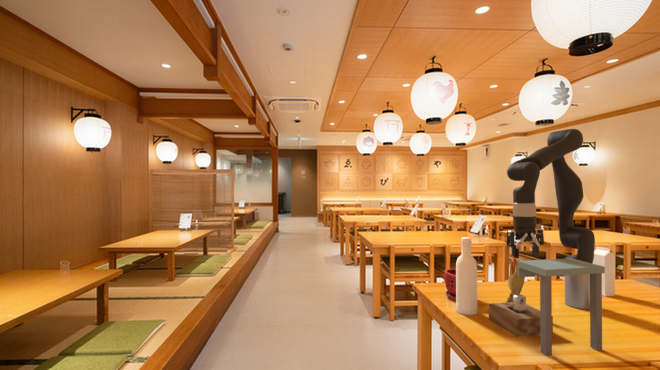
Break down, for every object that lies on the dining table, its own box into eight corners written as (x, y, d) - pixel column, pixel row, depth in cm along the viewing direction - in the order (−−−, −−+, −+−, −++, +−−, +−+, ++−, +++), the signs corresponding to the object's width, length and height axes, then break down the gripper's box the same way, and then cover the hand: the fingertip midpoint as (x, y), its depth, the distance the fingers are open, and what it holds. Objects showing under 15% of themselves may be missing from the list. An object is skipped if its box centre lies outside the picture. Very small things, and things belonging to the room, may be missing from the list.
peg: (520, 320, 113) (520, 293, 113) (528, 325, 109) (528, 297, 109) (510, 321, 112) (510, 294, 112) (518, 326, 108) (518, 298, 108)
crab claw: (526, 312, 122) (526, 263, 123) (516, 314, 121) (516, 264, 121) (511, 306, 129) (511, 259, 129) (502, 307, 127) (501, 260, 128)
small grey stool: (571, 333, 105) (571, 258, 105) (605, 350, 94) (604, 266, 94) (517, 338, 102) (517, 260, 102) (546, 356, 91) (545, 269, 91)
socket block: (521, 316, 119) (521, 301, 119) (552, 333, 105) (552, 316, 105) (488, 319, 116) (488, 303, 116) (516, 337, 103) (516, 319, 103)
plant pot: (466, 306, 129) (466, 278, 129) (439, 297, 140) (438, 271, 140) (481, 299, 137) (481, 272, 137) (454, 291, 148) (454, 266, 148)
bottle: (476, 317, 118) (475, 240, 118) (454, 312, 122) (454, 238, 123) (478, 310, 125) (478, 237, 125) (457, 306, 129) (457, 235, 129)
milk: (601, 291, 147) (601, 245, 148) (615, 295, 141) (615, 248, 142) (591, 292, 146) (591, 246, 146) (605, 296, 140) (605, 248, 140)
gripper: (532, 212, 121) (533, 253, 121) (500, 214, 118) (502, 256, 118) (549, 214, 113) (550, 257, 113) (515, 216, 111) (517, 261, 111)
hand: (525, 257), depth 116 cm, fingers open, 8 cm apart
